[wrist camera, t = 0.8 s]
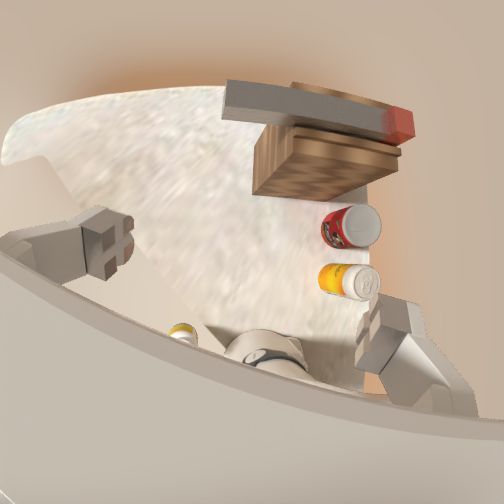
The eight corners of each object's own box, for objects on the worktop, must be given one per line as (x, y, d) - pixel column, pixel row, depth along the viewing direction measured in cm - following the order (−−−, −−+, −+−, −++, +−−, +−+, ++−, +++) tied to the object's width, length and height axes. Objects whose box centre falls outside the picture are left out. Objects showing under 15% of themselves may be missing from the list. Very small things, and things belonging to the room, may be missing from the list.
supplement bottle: (163, 332, 58) (158, 346, 48) (186, 317, 59) (185, 328, 49) (180, 355, 58) (178, 372, 49) (202, 340, 59) (205, 355, 50)
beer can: (345, 265, 65) (384, 267, 50) (341, 294, 65) (379, 303, 50) (318, 261, 64) (354, 262, 49) (314, 291, 63) (348, 300, 49)
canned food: (312, 226, 64) (335, 220, 53) (340, 204, 65) (366, 194, 54) (333, 256, 64) (359, 256, 54) (360, 234, 66) (388, 230, 55)
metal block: (221, 119, 35) (225, 99, 30) (223, 94, 35) (228, 72, 30) (393, 147, 39) (415, 136, 34) (391, 124, 39) (412, 111, 34)
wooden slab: (252, 194, 62) (295, 150, 35) (254, 146, 62) (295, 77, 35) (324, 201, 64) (402, 169, 38) (324, 155, 65) (395, 103, 38)
